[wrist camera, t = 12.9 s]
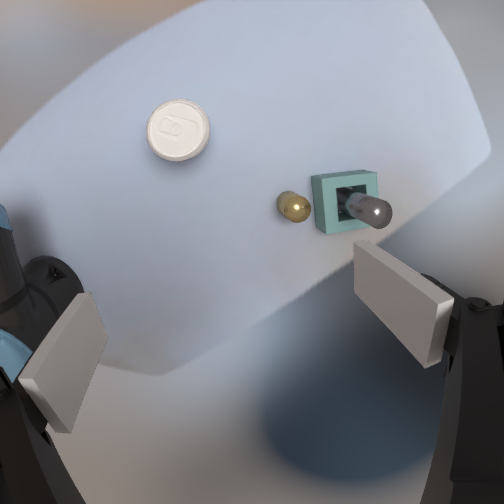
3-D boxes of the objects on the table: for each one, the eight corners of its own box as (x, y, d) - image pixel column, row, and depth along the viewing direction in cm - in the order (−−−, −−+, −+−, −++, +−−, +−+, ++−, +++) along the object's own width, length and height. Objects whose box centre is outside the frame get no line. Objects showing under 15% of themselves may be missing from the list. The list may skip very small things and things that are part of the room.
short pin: (278, 216, 51) (286, 224, 46) (275, 193, 50) (283, 198, 44) (300, 212, 52) (312, 220, 46) (298, 189, 50) (309, 194, 45)
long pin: (330, 210, 52) (368, 231, 39) (328, 187, 51) (367, 202, 38) (350, 207, 53) (392, 226, 40) (349, 185, 51) (391, 198, 38)
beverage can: (196, 166, 47) (193, 171, 36) (151, 148, 45) (133, 148, 34) (218, 121, 45) (220, 111, 34) (171, 102, 43) (160, 88, 32)
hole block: (316, 226, 53) (326, 234, 48) (311, 175, 50) (321, 178, 45) (366, 218, 54) (379, 224, 49) (362, 169, 51) (376, 172, 46)
